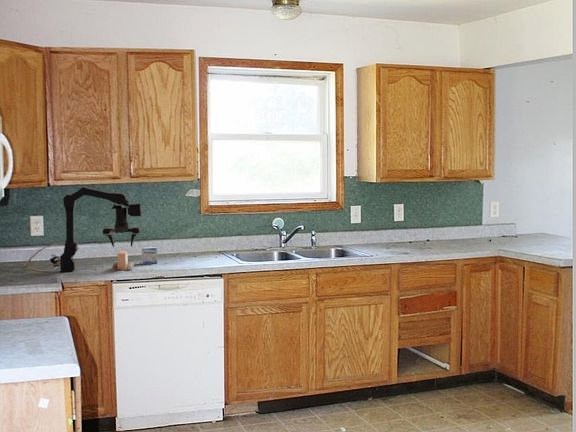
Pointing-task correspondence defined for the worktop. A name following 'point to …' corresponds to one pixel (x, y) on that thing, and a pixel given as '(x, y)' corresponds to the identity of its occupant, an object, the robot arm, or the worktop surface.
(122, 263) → the box
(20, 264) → the worktop surface
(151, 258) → the medicine box
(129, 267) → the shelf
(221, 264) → the worktop surface
